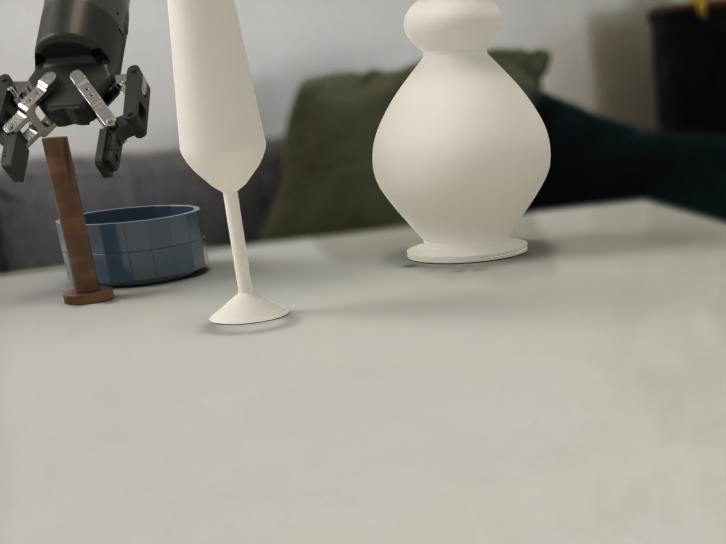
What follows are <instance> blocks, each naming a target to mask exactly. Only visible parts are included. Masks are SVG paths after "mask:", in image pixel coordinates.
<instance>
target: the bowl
mask: <svg viewBox="0 0 726 544" xmlns="http://www.w3.org/2000/svg"><path fill="white" fill-rule="evenodd" d="M83 213H84V217H85V222H86V227H87V231H88V236H89V241H90V246H91V250H92V255H93V260H94V264H95V269H96V274H97V279H98V283H99V286H109V287H129V286H130V287H131V286H140V285H148V284H156V283H162V282H168V281H173V280H178V279H181V278H185V277H188V276H190V275H193V274H195V273H196V272H197V271H198V270H200V269H201V270H202V269H203V268H205V267H207V266H208V265H209V264H210V257H209V251H208V250H209V249H208V244H207V238H206V233H205V228H204V227H205V226H204V220H203V213H202V209H201V207H199V206H197V205H192V204H155V205H140V206H129V207H117V208H109V209H103V210H102V209H101V210H95V211H89V212H83ZM55 227H56V231H57V235H58V240H59V245H60V249H61V253H62V257H63V261H64V262H63V263H64V267H65V271H66V276H67V279H68V280H70V281H72V282H73V278H72V274H71V269H70V265H69V260H68V256H67V251H66V247H65V242H64V238H63V233H62V229H61V224H60V220H59V219H57V220H55Z"/></svg>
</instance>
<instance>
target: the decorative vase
mask: <svg viewBox="0 0 726 544" xmlns="http://www.w3.org/2000/svg"><path fill="white" fill-rule="evenodd" d="M503 24H504V18H503V13H502V11H501V9H500V7H499V6H498V5H497V3H495V2H494V0H415V1H414V3H413V4H412V5H411V6H410V7H409V8H408V10H407V12H406V13H405V15H404V19H403V31H404V34H405V36H406V38H407V39H408V40H409V41H410V42H411V44H413V45H414V47H416V48H417V49H418V50H419V51H420V52H422V58H421V60H419V62H418V63H417V65H416V66H415V67H414V68H413V69H412V71H411V72H410V74H409V75H408V77H407V78H406V79H405V80H404V82H403V83H402V84H401V86H400V87H399V89H398V90H397V92H396V93H395V95H394V96H393V98H391V100H390V103H389V105H388V106H387V108H386V110H385V112H384V115H383V116H382V118H381V120H380V122H379V125H378V127H377V130H376V132H375V136H374V140H373V144H372V154H371V155H372V160H371V161H372V171H373V174H374V179H375V181H376V183H377V186H378V187H379V189H380V191H381V192H382V194H383V195H384V196H385V197H386V199H387V200H388V201H389V203H390V204H391V206H392V207H393V208H394V209H395V210H396V212H397V213H398V214H399V215H400V216H401V217H402V219H403V220H404V221H405V222H407V224H408V225H409V226H410V227H411V228H412V230H413V231H414V232H415V233H416V234H417V235H418V236H419V237H420V238H421V240H422V241H423V242H422V243H418V244H414V245H413V246H410V247H408V248H407V250H406V257H407V259H408V260H410V261H414V262H418V263H426V264H427V263H428V264H464V263H465V264H467V263H477V262H478V263H479V262H488V261H495V260H502V259H507V258H511V257H515V256H519V255H521V254H524V253H526V252H527V251H528V249H529V244H528V241H526V240H524V239H521V238H518V237H511V235H510V234H511V233H512V232H513V231H514V230H515V228H516V226H517V225H518V223H519V222H520V221H521V219H522V218H523V216H524V215H525V213H526V212H527V210H528V209H529V207H530V206H531V204H532V203H533V201H534V199H535V198H536V197H537V195H538V193H539V191H540V190H541V189H542V186H543V185H544V182H545V181H546V179H547V176H548V174H549V171H550V168H551V157H552V153H551V151H552V150H551V143H550V137H549V133H548V130H547V128H546V125H545V123H544V120H543V119H542V117H541V115H540V113H539V112H538V110H537V109H536V107H535V105H534V103H533V102H532V100H530V98H529V97H528V95H527V94H526V93H525V91H524V90H523V89H522V88H521V86H520V85H519V84H518V83H517V82H516V81H515V80H514V79H513V77H512V76H511V75H509V73H508V72H506V70H505V69H504V68H503V67H502V66H501V65H500V64H499V63H498V62H497V61H496V60H495V59H494V58H493V57H492V56H491V55H490V53H488V48H489V46H490V45H491V44H492V43H493V42H494V41H495V39H496V38H497V37H498V36H499V34H500V32H501V30H502V28H503ZM527 245H528V247H527ZM525 247H527V249H525V250H523V251H521V252H518V253H514V254H510V255H505V254H509V253H513V252H516V251H519V250H522V249H523V248H525ZM500 255H505V256H500ZM495 256H500V257H495ZM491 257H493V258H491ZM484 258H485V259H484Z"/></svg>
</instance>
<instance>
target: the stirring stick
mask: <svg viewBox="0 0 726 544" xmlns="http://www.w3.org/2000/svg"><path fill="white" fill-rule="evenodd" d="M41 143H42V147H43V152H44V157H45V161H46V165H47V170H48V174H49V178H50V183H51V189H52V192H53V198H54V201H55V202H54V203H55V206H56V210H57V215H58V220H60V224H61V229H62V233H63V238H64V242H65V247H66V251H67V256H68V260H69V265H70V269H71V274H72V278H73V281H72V283H73V288H72V289H69V290H66V291H64V292H62V294H61V295H62V298H63V303H64V304H67V305H87V304H90V305H91V304H96V303H97V304H98V303H102V302H106V301H109V300H112V299H114V298H115V291H114V287H113V286H99V283H98V279H97V274H96V269H95V264H94V260H93V255H92V250H91V246H90V241H89V236H88V231H87V227H86V222H85V217H84V213H85V212H84V209H83V204H82V199H81V194H80V190H79V185H78V179H77V175H76V171H75V166H74V165H75V164H74V161H73V156H72V152H71V147H70V143H69V138H68V136H67V135H66V136H65V135H62V136H61V135H60V136H50V137H48V136H47V137H41Z"/></svg>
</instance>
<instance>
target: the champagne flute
mask: <svg viewBox="0 0 726 544" xmlns="http://www.w3.org/2000/svg"><path fill="white" fill-rule="evenodd" d="M166 3H167V15H168V26H169V37H170V38H169V40H170V51H171V63H172V72H173V85H174V97H175V109H176V111H175V112H176V121H177V133H178V144H179V145H178V146H179V151H180V154H181V156H182V158H183V159H184V161H185V162H186V164H187V165H189V168H190V169H191V170H192V171H193V172H194V173H195V174H197V175H198V176H199V177H200V178H201V179H202V180H203V181H205V182H206V183H207V184H208V185H210V186H211V187H212V188H214V189H216V190H218V191H219V192H221V193H222V196H223V197H222V198H223V202H224V209H225V215H226V222H227V228H228V235H229V241H230V246H231V253H232V261H233V266H234V272H235V278H236V285H237V293H236V294H235V295H234V296H233V297H232V298H230V300H228V301H226V303H225V304H224V305H222V306H221V307H220V308H219V309H218V310H217V311H215V312H214V313H213V314H212V315H211V316H209V318H208V320H209V322H211V323H214V324H222V325H240V324H241V325H243V324H244V325H245V324H255V323H262V322H266V321H271V320H275V319H278V318H282V317H284V316H286V315H288V314H289V312H290V310H289V309H287V308H285V307H283V306H281V305H280V304H278V303H276V302H274V301H272V300H270V299H268V298H266V297H265V296H263V295H261V294H259V293H258V292H255V291H254V290H253V284H252V278H251V271H250V264H249V258H248V251H247V245H246V238H245V237H246V236H245V232H244V223H243V218H242V212H241V205H240V198H239V192H238V191H240V190H241V189H242V188H243V187H244V186H245V185H247V183H248V182H249V181H250V179H251V178H252V176H253V175H254V173H255V172H256V171H257V169H258V168H259V167H260V164H261V162H262V160H263V158H264V155H265V153H266V149H267V141H266V136H265V132H264V128H263V122H262V118H261V114H260V109H259V105H258V100H257V97H256V92H255V87H254V82H253V79H252V74H251V68H250V64H249V59H248V55H247V51H246V45H245V42H244V38H243V33H242V29H241V25H240V20H239V15H238V10H237V5H236V2H235V0H166Z"/></svg>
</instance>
